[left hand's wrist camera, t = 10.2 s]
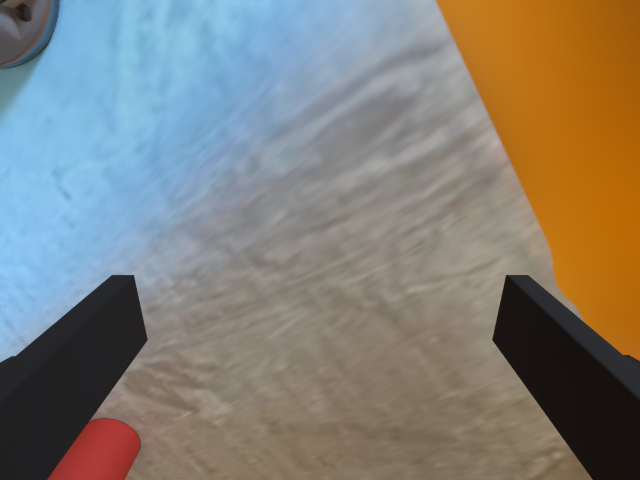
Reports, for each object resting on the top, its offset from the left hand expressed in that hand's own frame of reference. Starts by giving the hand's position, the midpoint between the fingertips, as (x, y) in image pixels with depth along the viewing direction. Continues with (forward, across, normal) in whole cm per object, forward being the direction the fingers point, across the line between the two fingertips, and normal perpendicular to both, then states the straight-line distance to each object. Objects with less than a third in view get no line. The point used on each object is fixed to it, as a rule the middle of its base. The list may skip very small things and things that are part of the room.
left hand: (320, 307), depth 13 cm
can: (+27, -30, -39) cm, 56 cm away
